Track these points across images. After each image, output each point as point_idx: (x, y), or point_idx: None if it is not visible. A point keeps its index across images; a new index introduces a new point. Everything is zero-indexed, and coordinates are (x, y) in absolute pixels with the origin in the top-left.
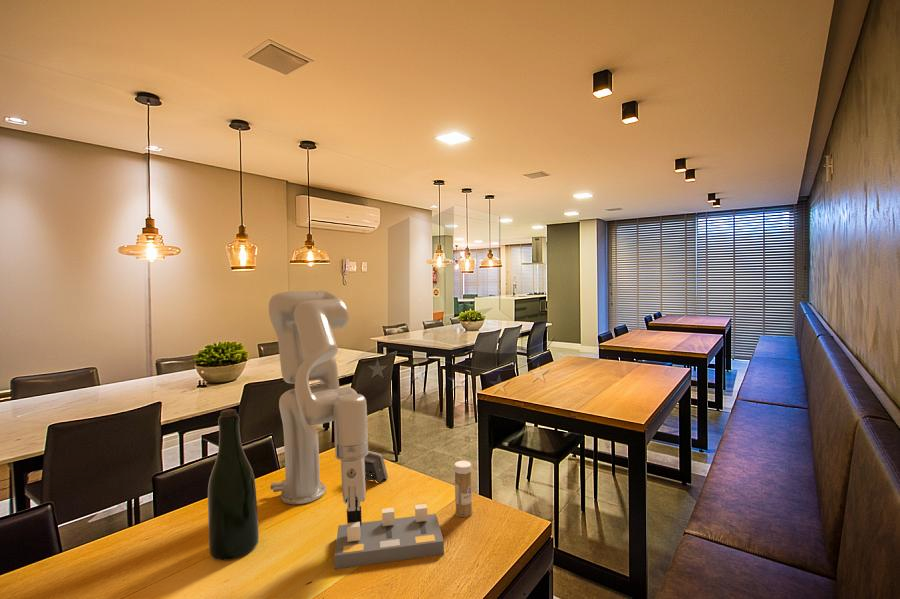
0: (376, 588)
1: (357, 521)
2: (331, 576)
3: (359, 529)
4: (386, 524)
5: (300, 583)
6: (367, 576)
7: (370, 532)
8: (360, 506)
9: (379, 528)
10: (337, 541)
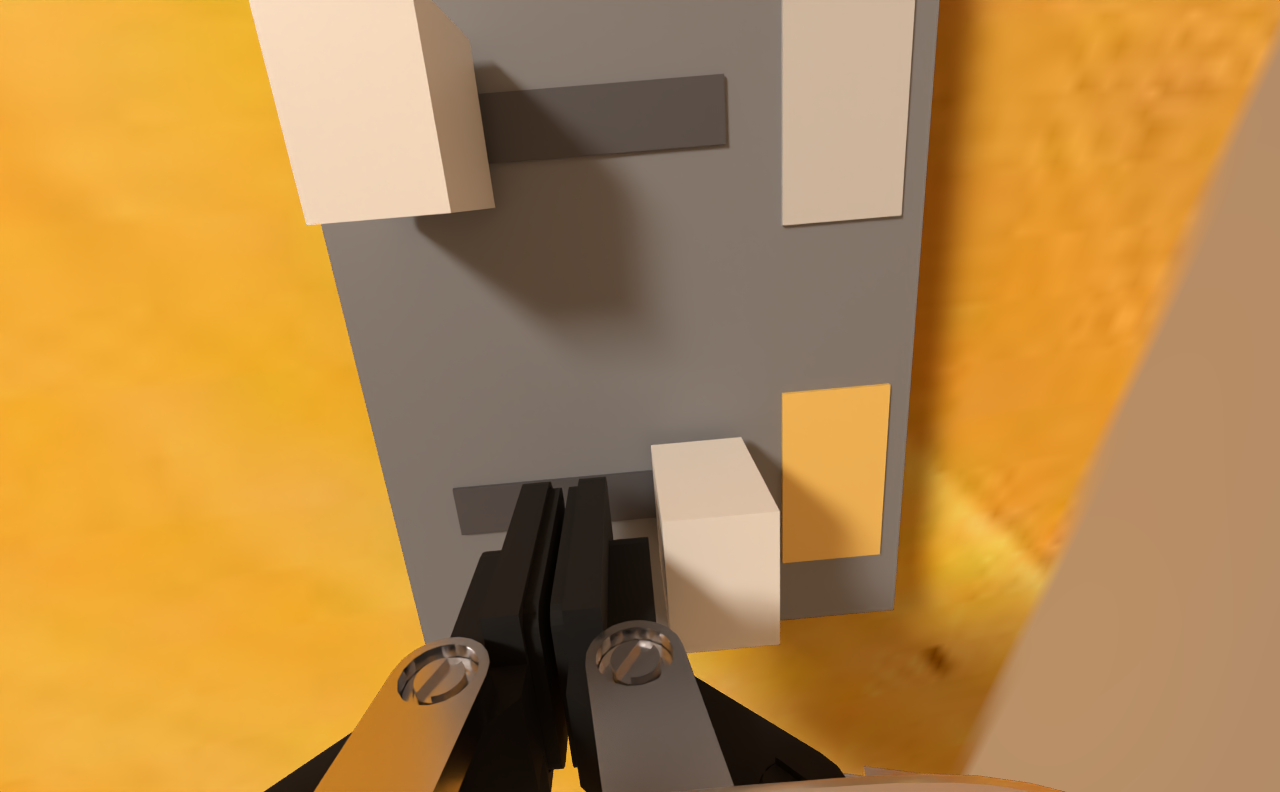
0: (1164, 221)
1: (648, 550)
2: (918, 550)
3: (768, 493)
4: (481, 156)
5: (929, 700)
6: (1000, 305)
7: (583, 345)
8: (492, 624)
9: (509, 248)
10: None
